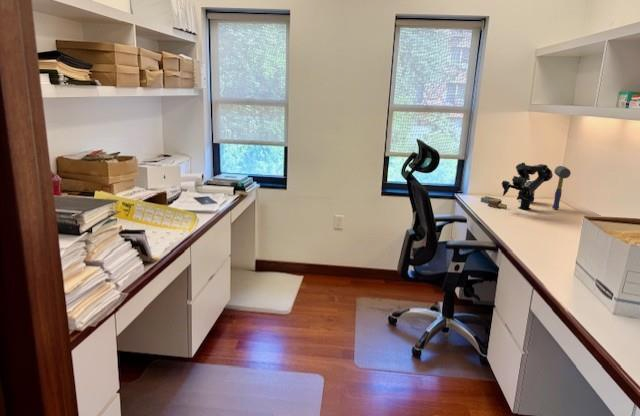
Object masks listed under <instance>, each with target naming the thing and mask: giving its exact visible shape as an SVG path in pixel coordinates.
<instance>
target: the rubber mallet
mask: <svg viewBox="0 0 640 416" xmlns="http://www.w3.org/2000/svg"><path fill="white" fill-rule="evenodd" d="M554 174H555V175H556V176H557V177H558V184H557V187H556V190H555V192H554V201H553V204H552V209H553V210H555V211H557V210H559V208H560V201H561V198H562V191H563V190H562V187H563V182H564V179H567V178H568V179H569V178H570V176H571V174H572V173H571V170H570V169H569V168H568V167H566V166H563V165H558V166H556V167H555V169H554Z"/></svg>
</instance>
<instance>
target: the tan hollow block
mask: <svg viewBox="0 0 640 416" xmlns="http://www.w3.org/2000/svg"><path fill="white" fill-rule="evenodd" d="M498 199H499V198H497V199H490V200H489V202H488V203H487V207H491V208H495V209H497V208H498V207H497V206H498V203H500V204H502V202H503V201H502V199H501V200H498Z"/></svg>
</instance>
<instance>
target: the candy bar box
mask: <svg viewBox="0 0 640 416" xmlns="http://www.w3.org/2000/svg"><path fill="white" fill-rule="evenodd" d="M534 180H535V179H530V180H527V182H526V183H525V186H527V187H528V186H529V185H530V184H531V183H532V182H533V181H534ZM522 188H523V187H522ZM535 192H536V190H535V191H534V192H533V195H534V196H535ZM518 203H520V204H521V199H518Z"/></svg>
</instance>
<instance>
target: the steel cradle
mask: <svg viewBox="0 0 640 416" xmlns="http://www.w3.org/2000/svg"><path fill="white" fill-rule="evenodd" d="M490 199H498V200H502V199H501V198H497V197H492V196H486V195H485V196H482V197H480V202H481V203H485V204H488V202H489V200H490Z"/></svg>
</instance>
